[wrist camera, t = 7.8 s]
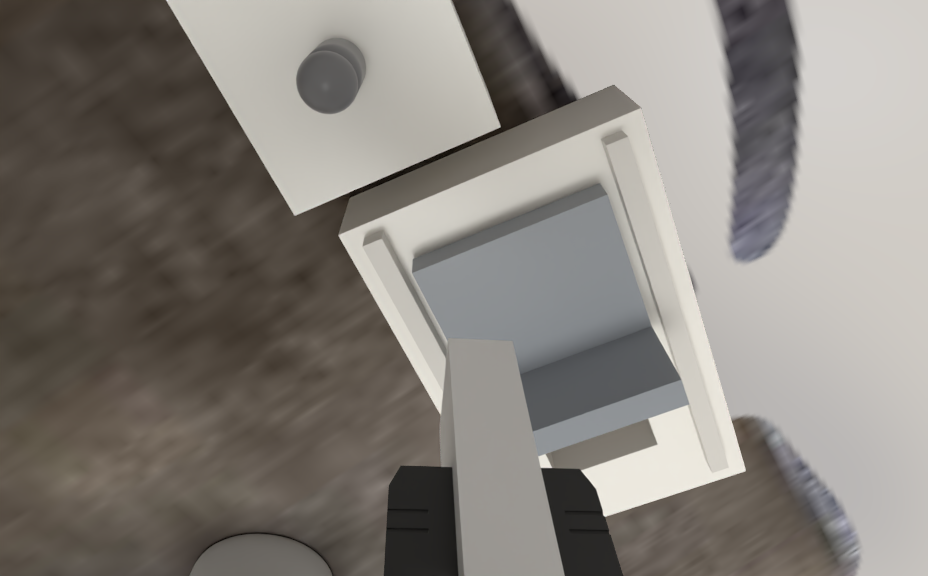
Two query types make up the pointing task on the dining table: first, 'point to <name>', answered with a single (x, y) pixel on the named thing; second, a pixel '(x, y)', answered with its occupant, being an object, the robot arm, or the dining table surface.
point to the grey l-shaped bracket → (558, 316)
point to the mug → (260, 558)
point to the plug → (341, 85)
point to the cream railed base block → (649, 250)
